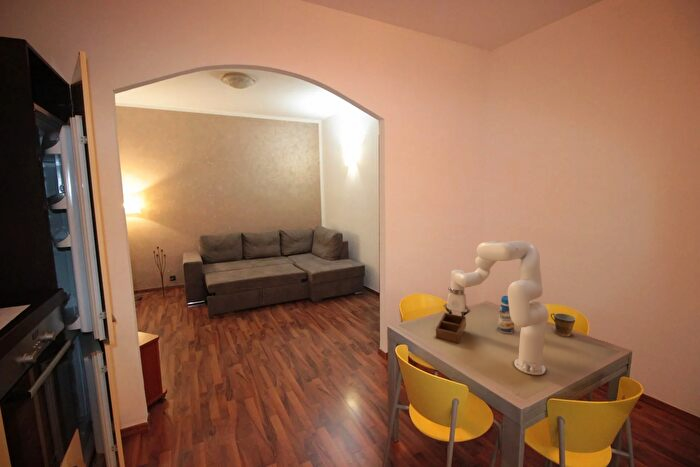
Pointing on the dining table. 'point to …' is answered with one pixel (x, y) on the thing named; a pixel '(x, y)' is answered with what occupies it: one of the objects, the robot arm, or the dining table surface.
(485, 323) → the dining table surface
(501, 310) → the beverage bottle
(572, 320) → the ceramic cup
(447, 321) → the brown open box
